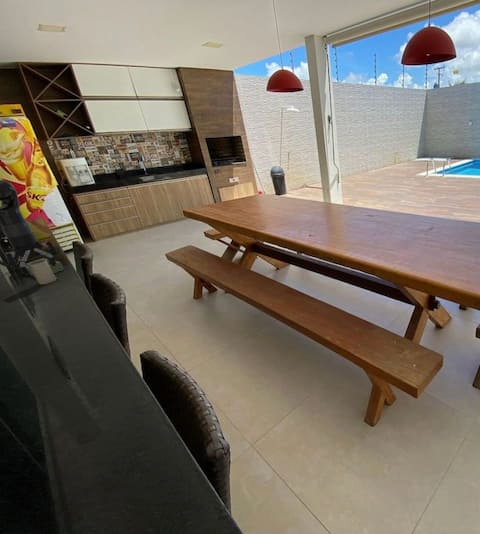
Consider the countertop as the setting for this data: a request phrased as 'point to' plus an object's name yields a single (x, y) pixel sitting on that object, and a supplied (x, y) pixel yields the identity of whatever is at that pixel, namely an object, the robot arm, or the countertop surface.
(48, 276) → the beige rectangular block
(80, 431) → the countertop surface
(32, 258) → the vase
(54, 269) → the holder
